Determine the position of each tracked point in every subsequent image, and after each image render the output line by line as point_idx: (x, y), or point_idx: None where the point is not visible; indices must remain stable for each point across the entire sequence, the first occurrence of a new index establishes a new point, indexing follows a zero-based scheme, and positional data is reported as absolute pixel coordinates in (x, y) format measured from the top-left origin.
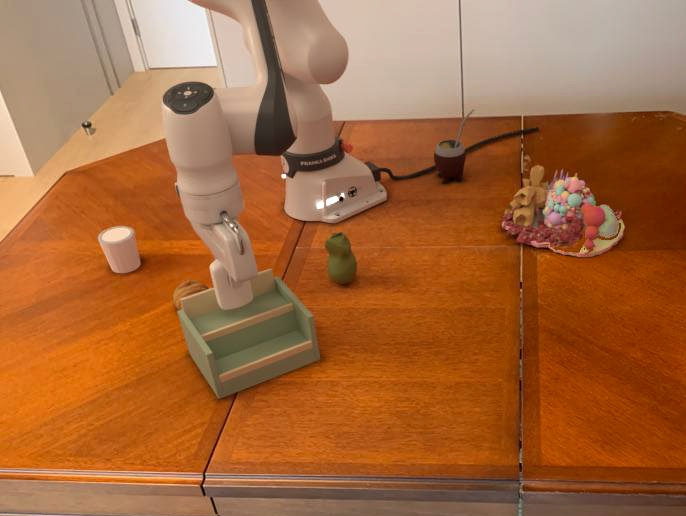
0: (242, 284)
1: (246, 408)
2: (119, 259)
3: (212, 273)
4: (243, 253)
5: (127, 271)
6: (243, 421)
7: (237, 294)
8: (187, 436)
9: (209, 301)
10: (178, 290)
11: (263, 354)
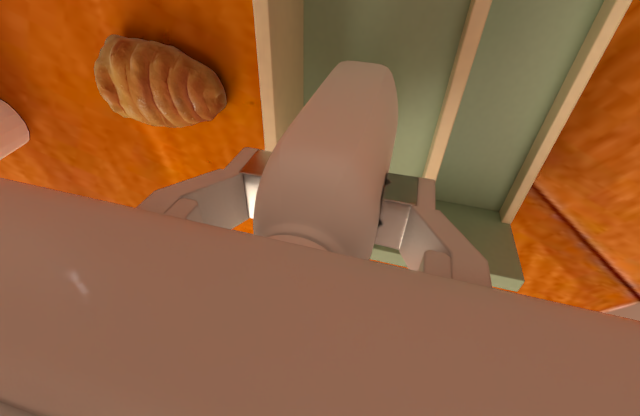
0: (434, 182)
1: (580, 178)
2: (1, 148)
3: None
4: (496, 339)
5: (25, 128)
6: (608, 202)
7: (391, 157)
8: (531, 273)
9: None
10: (126, 112)
11: (511, 83)
